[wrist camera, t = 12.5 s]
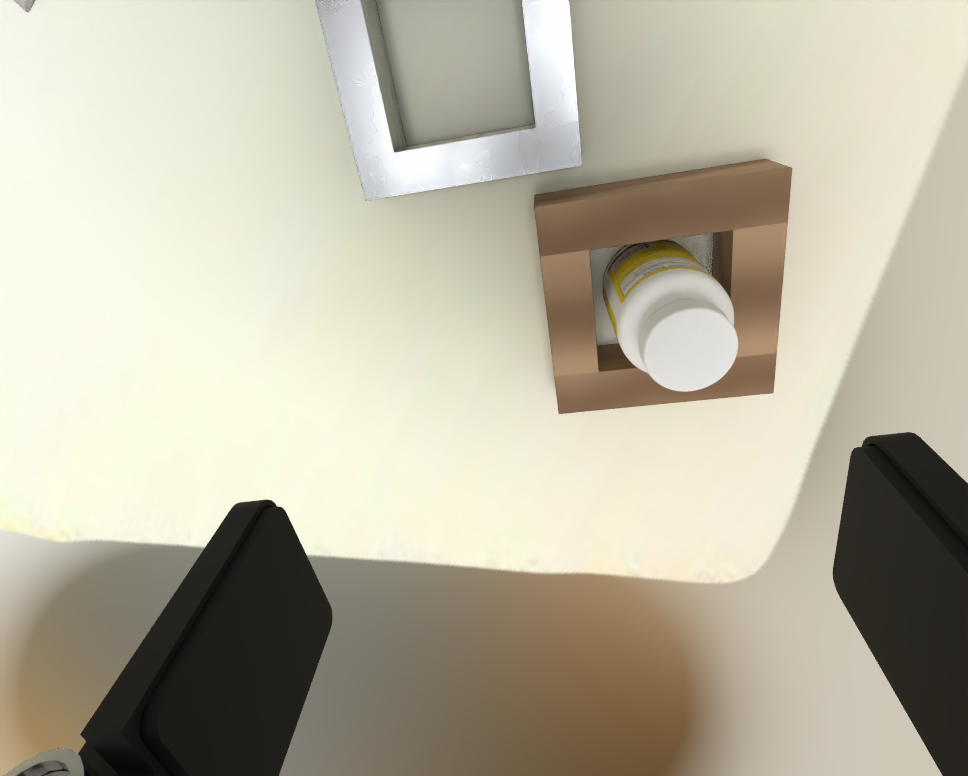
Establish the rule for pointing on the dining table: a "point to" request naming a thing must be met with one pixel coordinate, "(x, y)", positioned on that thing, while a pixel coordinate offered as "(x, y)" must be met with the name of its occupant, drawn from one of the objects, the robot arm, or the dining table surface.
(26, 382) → the dining table surface
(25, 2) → the caliper
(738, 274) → the block
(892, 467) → the robot arm
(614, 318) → the supplement bottle
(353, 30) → the socket block
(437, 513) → the dining table surface
